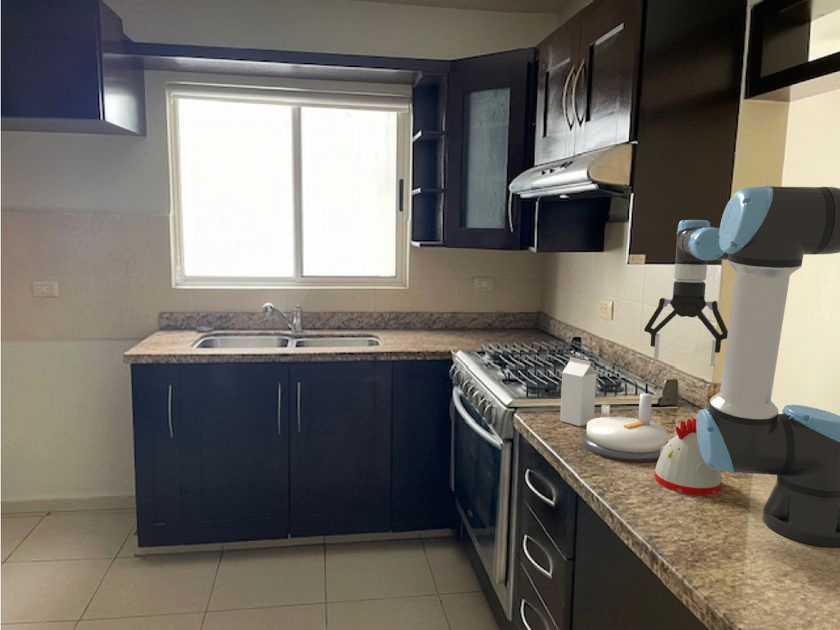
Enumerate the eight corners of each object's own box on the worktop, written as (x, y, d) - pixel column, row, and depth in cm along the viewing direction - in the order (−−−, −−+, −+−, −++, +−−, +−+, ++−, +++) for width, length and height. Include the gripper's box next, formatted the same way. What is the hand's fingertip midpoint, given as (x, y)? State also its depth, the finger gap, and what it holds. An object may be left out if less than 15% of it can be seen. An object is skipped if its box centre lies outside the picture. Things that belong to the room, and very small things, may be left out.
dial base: (665, 469, 147) (668, 440, 146) (573, 453, 157) (575, 426, 156) (673, 438, 170) (675, 413, 169) (592, 426, 179) (593, 402, 178)
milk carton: (580, 427, 178) (583, 363, 176) (559, 421, 183) (562, 358, 181) (593, 422, 183) (597, 359, 180) (573, 416, 188) (576, 355, 186)
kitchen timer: (641, 474, 144) (646, 412, 142) (688, 467, 149) (692, 407, 147) (685, 499, 131) (691, 431, 129) (735, 490, 136) (741, 425, 134)
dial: (633, 458, 148) (635, 414, 146) (570, 434, 164) (572, 395, 163) (682, 443, 159) (685, 402, 157) (618, 422, 175) (621, 385, 174)
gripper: (744, 282, 155) (737, 364, 158) (640, 277, 166) (635, 354, 169) (744, 284, 148) (737, 370, 151) (636, 279, 160) (631, 359, 163)
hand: (683, 362), depth 160 cm, fingers open, 13 cm apart
